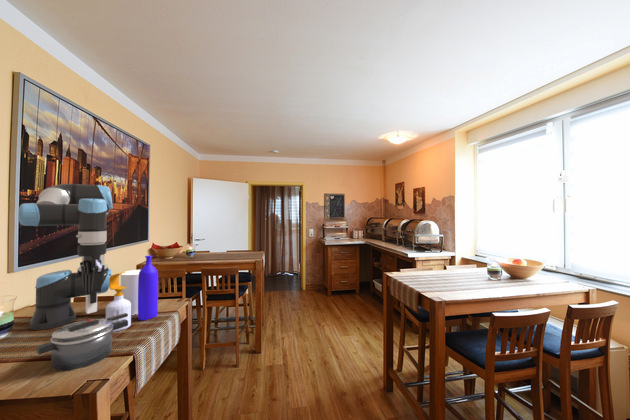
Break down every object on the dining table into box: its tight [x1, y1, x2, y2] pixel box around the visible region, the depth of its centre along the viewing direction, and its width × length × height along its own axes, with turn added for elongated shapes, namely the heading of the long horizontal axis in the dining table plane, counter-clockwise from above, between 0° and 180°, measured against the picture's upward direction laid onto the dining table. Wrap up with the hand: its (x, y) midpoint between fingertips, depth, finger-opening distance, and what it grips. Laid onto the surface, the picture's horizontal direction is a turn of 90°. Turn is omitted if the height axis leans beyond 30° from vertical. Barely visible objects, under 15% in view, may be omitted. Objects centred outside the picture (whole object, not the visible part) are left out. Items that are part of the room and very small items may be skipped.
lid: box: [51, 313, 128, 339], centre depth 96 cm, size 17×22×2 cm
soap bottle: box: [105, 271, 132, 333], centre depth 118 cm, size 9×9×25 cm
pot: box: [36, 319, 128, 372], centre depth 94 cm, size 17×25×9 cm, turn 150°
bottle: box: [137, 255, 159, 321], centre depth 129 cm, size 8×8×30 cm
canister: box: [120, 268, 142, 316], centre depth 139 cm, size 14×14×20 cm
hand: (91, 311), depth 91 cm, fingers closed
